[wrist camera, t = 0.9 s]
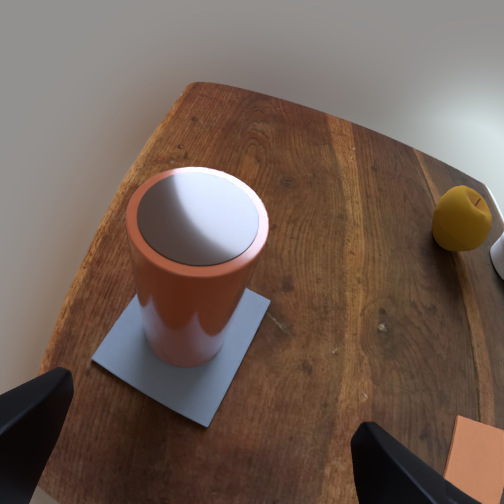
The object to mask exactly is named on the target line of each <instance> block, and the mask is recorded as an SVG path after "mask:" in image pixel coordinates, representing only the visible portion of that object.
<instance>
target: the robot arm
mask: <svg viewBox="0 0 504 504" xmlns="http://www.w3.org/2000/svg"><path fill="white" fill-rule="evenodd" d="M73 394H74V388H73V379H72V373H71V371H69V370H67V369H64V368H62V367H57V368H55V369H53V370H51V371H49V372H47V373H45V374H43V375H41V376H38V377H36V378H34V379H32V380H30V381H28V382H26V383H24V384H22V385H20V386H18V387H16V388H14V389H12V390H10V391H8V392H5V393H3V394H1V395H0V504H29V503H30V500H31V498H32V495H33V493H34V491H35V488H36V486H37V484H38V481H39V479H40V477H41V474H42V472H43V470H44V468H45V466H46V463H47V461H48V459H49V457H50V455H51V453H52V450H53V448H54V446H55V444H56V442H57V440H58V437H59V435H60V432H61V430H62V427H63V424H64V421H65V418H66V415H67V412H68V409H69V406H70V404H71V401H72V398H73ZM351 453H352V463H353V473H354V481H355V487H356V491H357V496H358V501H359V504H482V503H481V502H479V501H477V500H476V499H474V498H472V497H471V496H469V495H467V494H466V493H464V492H463V491H461V490H460V489H459V488H457V487H456V486H454V485H453V484H452V483H450V482H449V481H448V480H445V478H444V477H442V476H441V475H440V474H439V473H437V472H436V471H435V470H433V469H432V468H431V467H430V466H428V465H427V464H426V463H424V462H423V461H422V460H421V459H419V458H418V457H417V456H416V455H414V454H413V453H412V452H411V451H409V450H408V449H407V448H406V447H404V446H403V445H402V444H401V443H399V442H398V441H397V440H396V439H395V438H393V437H392V436H391V435H390V434H388V433H387V432H386V431H385V430H384V429H382V428H381V427H380V426H379V425H378V424H376V423H375V422H363V423H361V424H360V426H359V427H358V429H357V431H356V432H355V434H354V435H353V437H352V439H351Z"/></svg>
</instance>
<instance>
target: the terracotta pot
mask: <svg viewBox="0 0 504 504" xmlns="http://www.w3.org/2000/svg"><path fill="white" fill-rule="evenodd" d="M125 222H126V232H127V239H128V246H129V252H130V258H131V264H132V270H133V276H134V281H135V287H136V292H137V297H138V302H139V307H140V312H141V317H142V321H143V326H144V330H145V334H146V339H147V342H148V344H149V346H150V348H151V350H152V351H153V352H154V354H155V355H156V356H157V357H158V358H160V359H161V360H162V361H164V362H165V363H167V364H169V365H172V366H175V367H180V368H192V367H197V366H200V365H203V364H205V363H207V362H208V361H210V360H211V359H212V358H213V357H214V356H215V355H216V354H217V353H218V351H219V350H220V348H221V346H222V344H223V341H224V339H225V337H226V335H227V332H228V330H229V328H230V325H231V323H232V321H233V319H234V316H235V314H236V312H237V310H238V307H239V305H240V303H241V300H242V298H243V296H244V294H245V291H246V289H247V287H248V284H249V282H250V280H251V278H252V275H253V273H254V271H255V268H256V266H257V264H258V261H259V259H260V257H261V255H262V252H263V250H264V248H265V245H266V243H267V240H268V236H269V229H270V225H269V218H268V214H267V211H266V208H265V206H264V204H263V202H262V201H261V199H260V198H259V196H258V195H257V194H256V193H255V192H254V191H253V190H252V189H251V188H250V187H249V186H248V185H246V184H245V183H244V182H242V181H241V180H239V179H238V178H236V177H234V176H232V175H230V174H227V173H225V172H222V171H218V170H215V169H210V168H204V167H181V168H175V169H171V170H167V171H164V172H162V173H159V174H157V175H155V176H153V177H152V178H150V179H148V180H147V181H146V182H144V183H143V184H142V185H141V186H140V187H139V188H138V189H137V190H136V191H135V193H134V194H133V196H132V197H131V199H130V202H129V204H128V207H127V210H126V217H125Z"/></svg>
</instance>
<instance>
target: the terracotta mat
mask: <svg viewBox="0 0 504 504" xmlns="http://www.w3.org/2000/svg"><path fill="white" fill-rule="evenodd" d="M443 477H444V478H445V480H448V481H449V482H450V483H452V484H453V485H454V486H456V487H457V488H459V489H460V490H461V491H463V492H464V493H466V494H467V495H469V496H471V497H472V498H474V499H476V500H477V501H479V502H481V503H482V504H499V503H500V499H501V495H502V491H503V487H504V430H501V429H498V428H494V427H491V426H488V425H485V424H482V423H479V422H476V421H473V420H470V419H467V418H464V417H461V416H459V415H458V416H456V419H455V424H454V430H453V435H452V440H451V445H450V449H449V454H448V458H447V462H446V466H445V470H444V474H443Z"/></svg>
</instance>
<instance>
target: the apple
mask: <svg viewBox="0 0 504 504" xmlns="http://www.w3.org/2000/svg"><path fill="white" fill-rule="evenodd" d="M491 225H492V216H491V213H490V210H489V208H488V205H487V203H486V202H485V200H484V199H483V198H482V197H481V195H480V194H479V193H477V192H476V191H475V190H473V189H471V188H469V187H466V186H464V185H463V186H456V187H453V188H452V189H450V190H448V191H447V192H446V193H445V194H444V195H443V196H442V197H441V198H440V200H439V201H438V203H437V205H436V208H435V210H434V214H433V221H432V233H433V236H434V239H435V241H436V242H437V243H438V245H439V246H441V247H442V248H444V249H446V250H449V251H470V250H473V249H476V248H477V247H478V246H480V245H481V244H482V243H483V242H484V240H485V239H486V238H487V236H488V233H489V231H490V229H491Z"/></svg>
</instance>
